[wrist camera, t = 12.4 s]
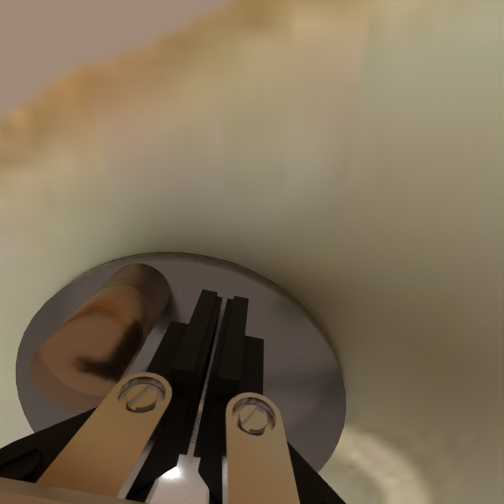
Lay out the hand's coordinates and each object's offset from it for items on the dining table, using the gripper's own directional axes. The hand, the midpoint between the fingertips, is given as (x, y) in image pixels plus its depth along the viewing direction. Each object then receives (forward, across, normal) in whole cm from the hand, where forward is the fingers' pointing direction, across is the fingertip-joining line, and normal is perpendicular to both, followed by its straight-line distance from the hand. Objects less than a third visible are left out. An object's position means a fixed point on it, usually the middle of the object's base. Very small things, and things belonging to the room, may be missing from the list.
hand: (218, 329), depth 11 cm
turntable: (+3, +1, +7) cm, 7 cm away
